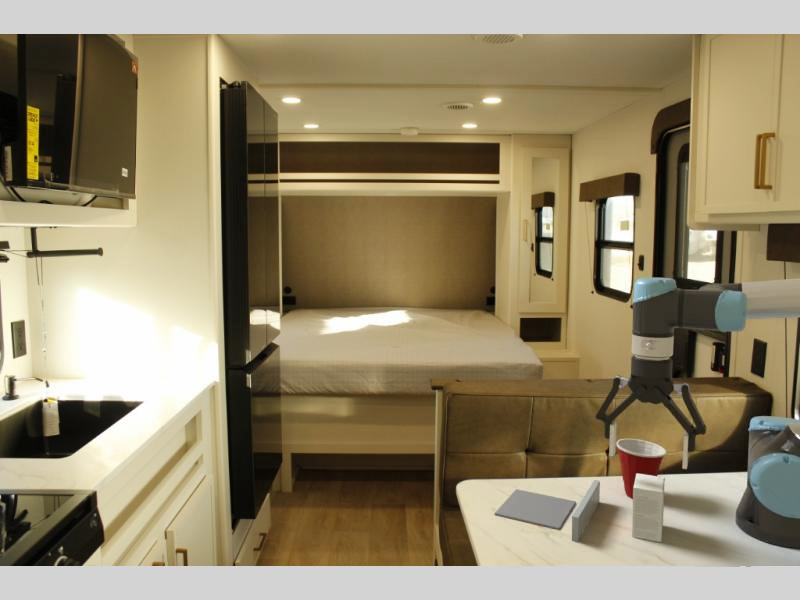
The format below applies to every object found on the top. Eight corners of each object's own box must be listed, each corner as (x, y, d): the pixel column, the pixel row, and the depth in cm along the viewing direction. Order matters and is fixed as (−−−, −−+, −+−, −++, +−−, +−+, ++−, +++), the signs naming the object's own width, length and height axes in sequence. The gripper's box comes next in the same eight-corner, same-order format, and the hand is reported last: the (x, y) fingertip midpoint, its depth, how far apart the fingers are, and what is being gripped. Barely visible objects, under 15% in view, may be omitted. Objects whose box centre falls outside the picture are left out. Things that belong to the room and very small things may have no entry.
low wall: (599, 502, 135) (599, 480, 134) (577, 541, 118) (578, 517, 117) (594, 500, 135) (594, 479, 135) (571, 540, 118) (572, 516, 118)
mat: (575, 503, 134) (575, 501, 134) (558, 529, 122) (558, 527, 122) (516, 490, 141) (516, 489, 141) (494, 514, 129) (494, 513, 129)
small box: (634, 520, 126) (635, 472, 125) (663, 525, 124) (665, 476, 123) (631, 537, 119) (632, 486, 118) (661, 543, 116) (663, 491, 115)
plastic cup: (670, 507, 132) (672, 455, 130) (618, 503, 134) (620, 452, 132) (659, 487, 142) (660, 438, 141) (611, 484, 144) (612, 436, 143)
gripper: (582, 353, 120) (580, 455, 122) (723, 366, 107) (717, 479, 110) (591, 347, 126) (588, 443, 129) (724, 358, 114) (718, 465, 116)
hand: (647, 460), depth 119 cm, fingers open, 13 cm apart
